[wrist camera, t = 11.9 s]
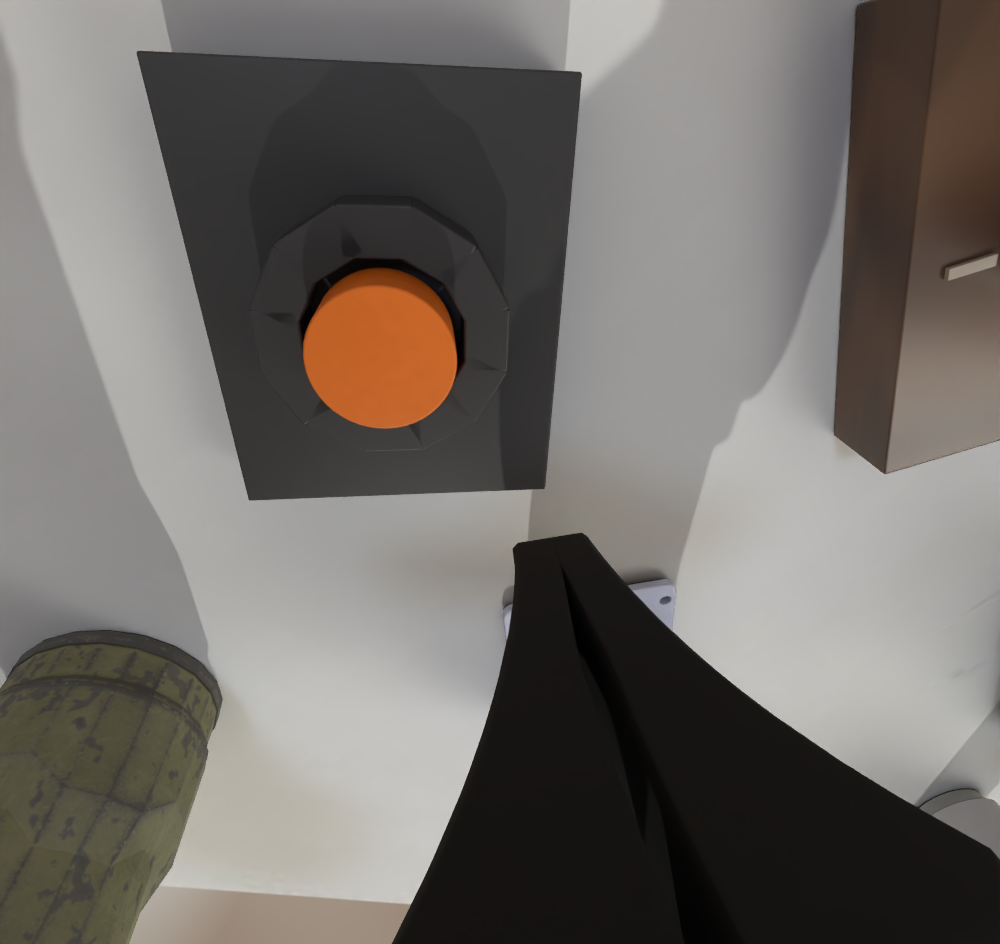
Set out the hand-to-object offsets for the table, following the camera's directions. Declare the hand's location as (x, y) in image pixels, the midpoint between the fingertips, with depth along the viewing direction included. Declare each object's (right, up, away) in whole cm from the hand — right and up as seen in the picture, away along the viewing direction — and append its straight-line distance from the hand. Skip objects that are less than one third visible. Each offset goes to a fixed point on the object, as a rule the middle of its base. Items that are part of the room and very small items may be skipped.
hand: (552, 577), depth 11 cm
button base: (-4, +7, +7) cm, 11 cm away
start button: (-4, +6, +4) cm, 8 cm away
